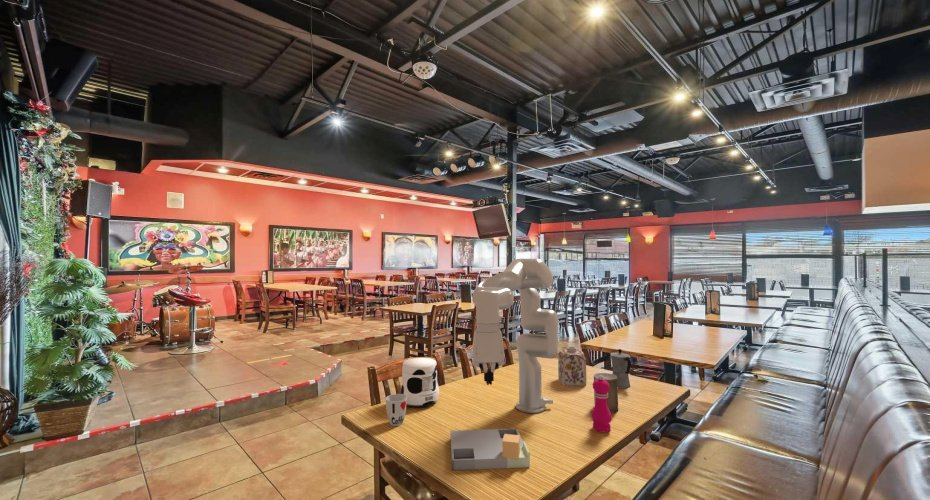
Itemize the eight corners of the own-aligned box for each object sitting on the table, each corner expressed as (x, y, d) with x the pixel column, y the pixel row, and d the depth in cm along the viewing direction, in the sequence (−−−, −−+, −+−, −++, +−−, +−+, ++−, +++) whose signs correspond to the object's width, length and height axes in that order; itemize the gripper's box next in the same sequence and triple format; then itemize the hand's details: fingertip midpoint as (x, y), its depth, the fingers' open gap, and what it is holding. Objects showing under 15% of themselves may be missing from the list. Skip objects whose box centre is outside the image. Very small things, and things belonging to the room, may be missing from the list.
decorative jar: (586, 386, 191) (586, 350, 192) (563, 386, 192) (563, 350, 192) (580, 378, 203) (579, 344, 204) (558, 378, 204) (557, 344, 204)
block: (520, 451, 122) (520, 435, 122) (518, 459, 117) (518, 442, 117) (504, 449, 123) (504, 433, 123) (502, 457, 118) (502, 441, 118)
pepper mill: (609, 434, 139) (608, 379, 140) (589, 430, 143) (588, 376, 143) (613, 427, 145) (612, 374, 146) (594, 423, 149) (593, 371, 150)
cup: (389, 429, 145) (389, 402, 145) (383, 421, 152) (383, 396, 152) (409, 425, 149) (409, 399, 149) (403, 417, 156) (402, 392, 156)
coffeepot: (605, 381, 199) (604, 346, 199) (621, 380, 200) (621, 345, 201) (621, 391, 184) (621, 353, 184) (639, 390, 185) (639, 353, 185)
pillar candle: (621, 407, 164) (621, 372, 164) (612, 414, 157) (611, 377, 157) (599, 402, 171) (599, 368, 171) (590, 408, 163) (589, 373, 164)
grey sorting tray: (517, 436, 138) (516, 424, 138) (529, 467, 118) (529, 452, 118) (450, 439, 137) (450, 426, 137) (452, 470, 117) (452, 455, 117)
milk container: (410, 393, 183) (410, 356, 183) (444, 397, 178) (444, 358, 178) (393, 407, 166) (393, 366, 166) (430, 412, 161) (430, 369, 161)
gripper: (508, 324, 130) (509, 378, 130) (464, 326, 129) (465, 380, 129) (512, 329, 123) (513, 386, 123) (466, 330, 122) (467, 388, 122)
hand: (488, 383), depth 126 cm, fingers closed
